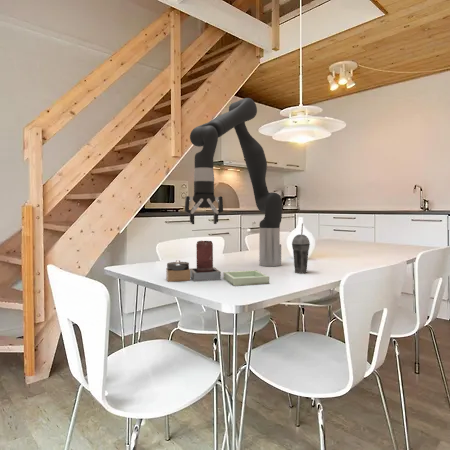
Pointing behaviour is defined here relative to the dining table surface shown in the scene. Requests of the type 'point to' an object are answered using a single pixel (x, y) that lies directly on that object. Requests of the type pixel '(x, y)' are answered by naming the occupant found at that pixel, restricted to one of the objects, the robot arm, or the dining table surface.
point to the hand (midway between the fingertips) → (204, 224)
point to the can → (204, 256)
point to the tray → (246, 278)
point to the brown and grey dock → (189, 273)
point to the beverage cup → (300, 252)
